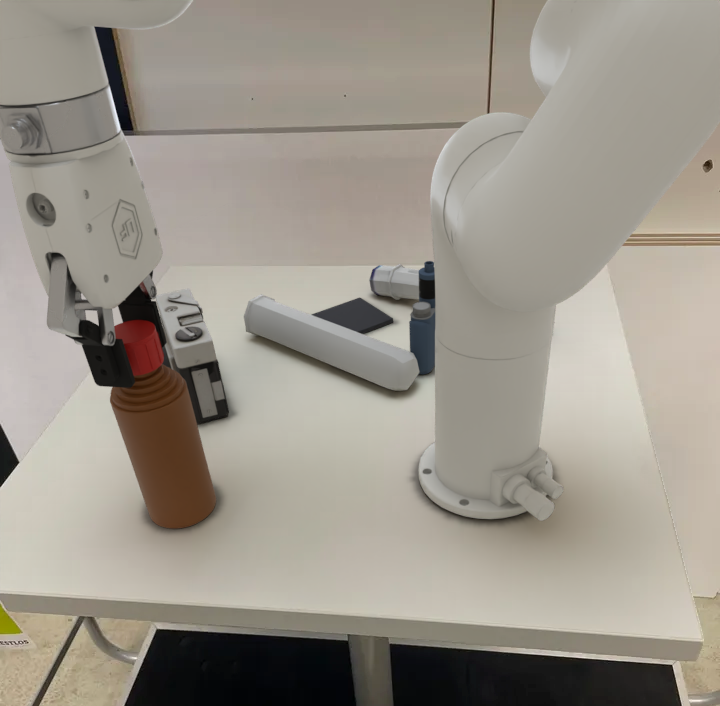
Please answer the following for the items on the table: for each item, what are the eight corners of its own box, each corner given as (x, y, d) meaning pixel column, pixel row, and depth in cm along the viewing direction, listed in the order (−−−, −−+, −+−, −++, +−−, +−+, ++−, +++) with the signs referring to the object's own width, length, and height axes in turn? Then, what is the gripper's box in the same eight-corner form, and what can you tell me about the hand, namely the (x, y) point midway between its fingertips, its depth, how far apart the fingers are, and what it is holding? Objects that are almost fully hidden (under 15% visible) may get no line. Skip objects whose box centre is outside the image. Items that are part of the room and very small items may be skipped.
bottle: (228, 507, 68) (186, 338, 57) (166, 539, 65) (109, 368, 54) (197, 475, 72) (152, 311, 61) (138, 503, 70) (79, 337, 58)
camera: (142, 373, 88) (119, 297, 82) (208, 357, 90) (191, 282, 84) (158, 434, 78) (133, 353, 72) (232, 415, 80) (215, 335, 74)
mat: (393, 322, 94) (393, 318, 94) (341, 342, 91) (341, 337, 91) (360, 301, 99) (359, 297, 99) (310, 318, 96) (309, 314, 96)
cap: (109, 361, 59) (99, 329, 57) (154, 346, 61) (145, 315, 59) (124, 381, 57) (113, 349, 55) (170, 365, 58) (162, 333, 56)
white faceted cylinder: (386, 258, 100) (554, 270, 86) (393, 303, 104) (555, 322, 90) (364, 272, 97) (534, 287, 83) (372, 318, 101) (536, 340, 86)
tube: (431, 349, 80) (276, 292, 93) (403, 355, 76) (245, 295, 90) (422, 394, 83) (272, 332, 96) (394, 402, 79) (241, 337, 92)
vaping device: (443, 355, 87) (444, 259, 79) (428, 377, 83) (427, 279, 76) (423, 351, 88) (422, 257, 80) (407, 373, 84) (404, 276, 77)
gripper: (41, 164, 40) (129, 429, 51) (164, 90, 53) (213, 316, 64) (-76, 165, 41) (36, 423, 53) (71, 93, 54) (135, 313, 66)
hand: (132, 362), depth 58 cm, fingers open, 5 cm apart
